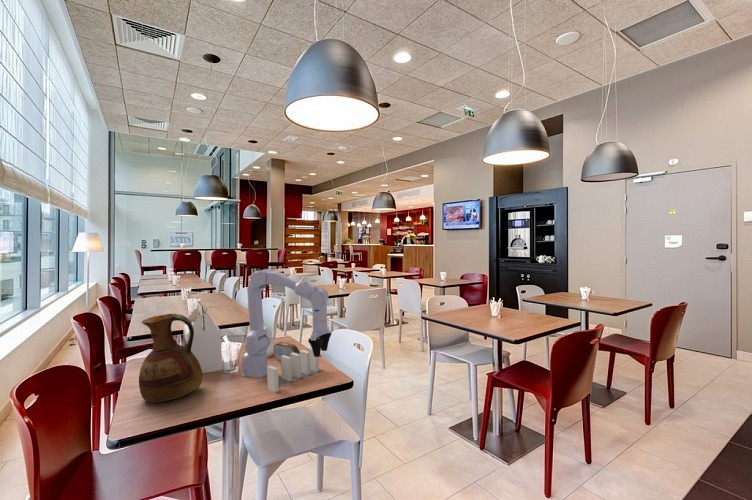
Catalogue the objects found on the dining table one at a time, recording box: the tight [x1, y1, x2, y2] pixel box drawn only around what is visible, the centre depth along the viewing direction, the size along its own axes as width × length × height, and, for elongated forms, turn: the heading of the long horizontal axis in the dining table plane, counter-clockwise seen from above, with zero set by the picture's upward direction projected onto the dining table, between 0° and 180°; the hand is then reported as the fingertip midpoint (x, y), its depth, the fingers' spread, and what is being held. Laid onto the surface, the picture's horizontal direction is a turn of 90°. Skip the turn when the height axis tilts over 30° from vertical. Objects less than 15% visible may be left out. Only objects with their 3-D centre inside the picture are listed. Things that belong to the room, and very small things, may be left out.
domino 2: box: [280, 355, 292, 381], centre depth 143 cm, size 2×5×9 cm, turn 47°
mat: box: [265, 368, 325, 388], centre depth 147 cm, size 23×8×1 cm, turn 137°
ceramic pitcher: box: [138, 313, 204, 403], centre depth 131 cm, size 20×20×30 cm
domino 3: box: [290, 352, 301, 378], centre depth 147 cm, size 2×5×9 cm, turn 47°
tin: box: [273, 341, 300, 362], centre depth 167 cm, size 15×3×8 cm, turn 58°
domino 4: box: [299, 349, 310, 375], centre depth 150 cm, size 2×5×9 cm, turn 47°
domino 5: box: [307, 347, 320, 372], centre depth 153 cm, size 2×5×9 cm, turn 47°
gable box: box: [182, 301, 223, 375], centre depth 163 cm, size 22×13×28 cm, turn 31°
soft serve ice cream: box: [244, 326, 275, 358], centre depth 180 cm, size 12×15×14 cm
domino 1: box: [266, 365, 279, 394], centre depth 133 cm, size 2×5×9 cm, turn 47°
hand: (320, 353), depth 144 cm, fingers open, 7 cm apart
